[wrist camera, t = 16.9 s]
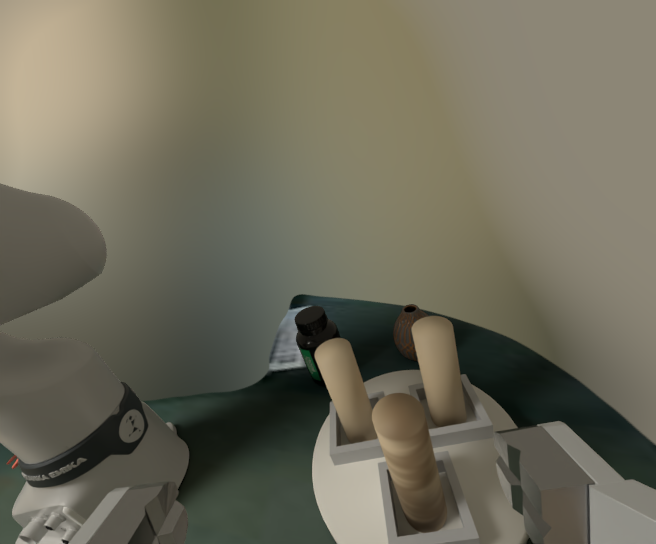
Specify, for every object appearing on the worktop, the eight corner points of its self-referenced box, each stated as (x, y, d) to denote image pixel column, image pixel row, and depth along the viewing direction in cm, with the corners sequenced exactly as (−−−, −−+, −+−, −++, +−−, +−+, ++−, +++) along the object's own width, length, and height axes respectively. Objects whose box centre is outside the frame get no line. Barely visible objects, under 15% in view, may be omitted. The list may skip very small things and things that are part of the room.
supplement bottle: (318, 394, 48) (293, 335, 43) (307, 368, 54) (284, 314, 49) (357, 375, 49) (336, 315, 44) (342, 352, 56) (322, 297, 51)
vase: (389, 356, 51) (378, 313, 47) (415, 333, 54) (407, 291, 50) (423, 375, 46) (413, 328, 42) (450, 348, 49) (443, 303, 45)
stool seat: (313, 615, 26) (240, 519, 20) (321, 399, 47) (287, 318, 41) (601, 584, 23) (623, 458, 17) (474, 368, 44) (462, 275, 38)
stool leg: (407, 536, 27) (375, 443, 22) (399, 488, 31) (369, 398, 25) (453, 530, 27) (431, 433, 21) (439, 482, 30) (417, 388, 25)
